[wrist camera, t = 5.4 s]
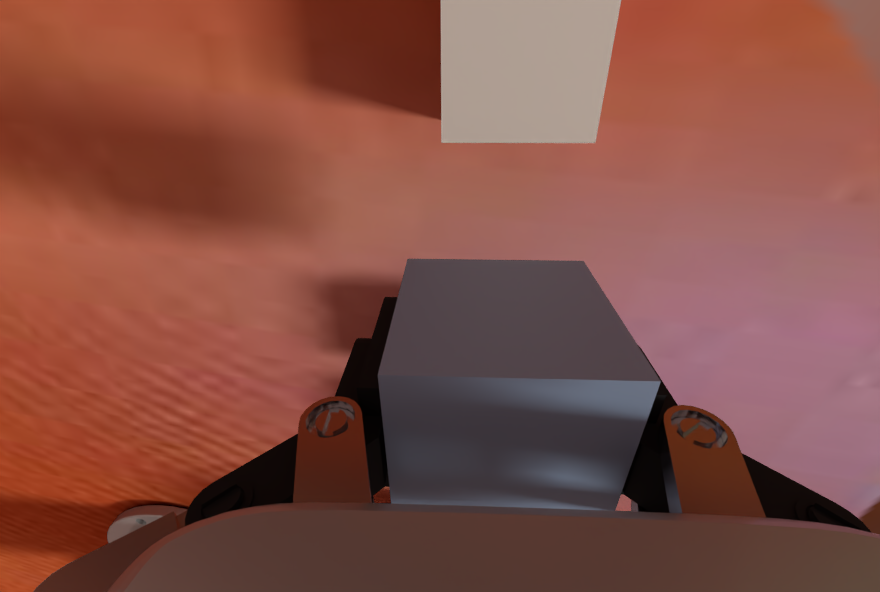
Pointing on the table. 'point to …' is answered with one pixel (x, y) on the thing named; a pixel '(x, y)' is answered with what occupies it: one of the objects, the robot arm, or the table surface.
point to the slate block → (510, 387)
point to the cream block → (524, 69)
